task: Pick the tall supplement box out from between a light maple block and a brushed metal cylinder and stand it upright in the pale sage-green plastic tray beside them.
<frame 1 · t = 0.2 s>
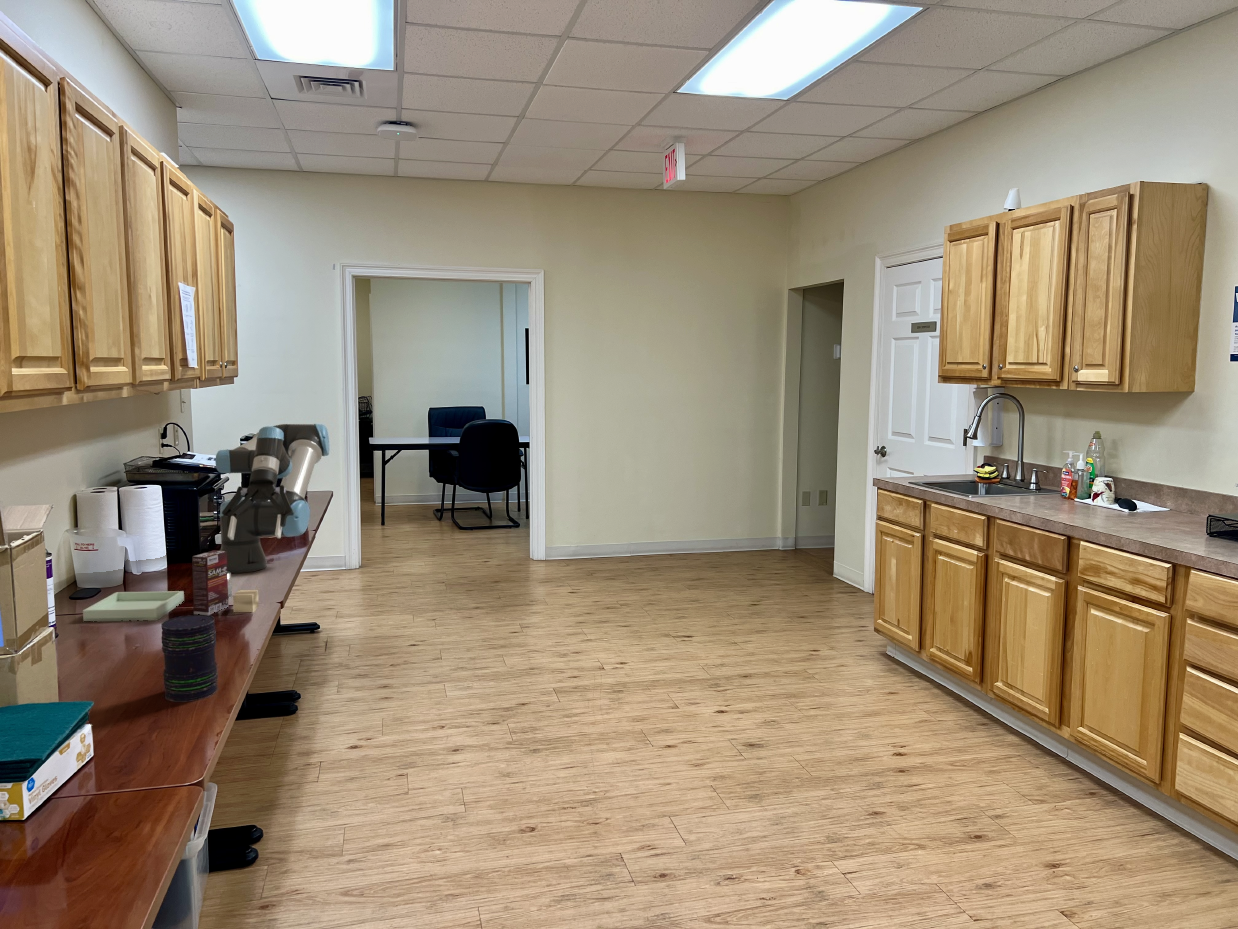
hand: (254, 537, 251), 16 cm above the table, tool tilted 35°, fingers open, 13 cm apart
supplement box: (211, 611, 231), on the table
storage jar: (191, 693, 174), on the table
metal cylinder: (222, 597, 245), on the table
maple block: (246, 610, 232), on the table
sage tray: (135, 611, 230), on the table
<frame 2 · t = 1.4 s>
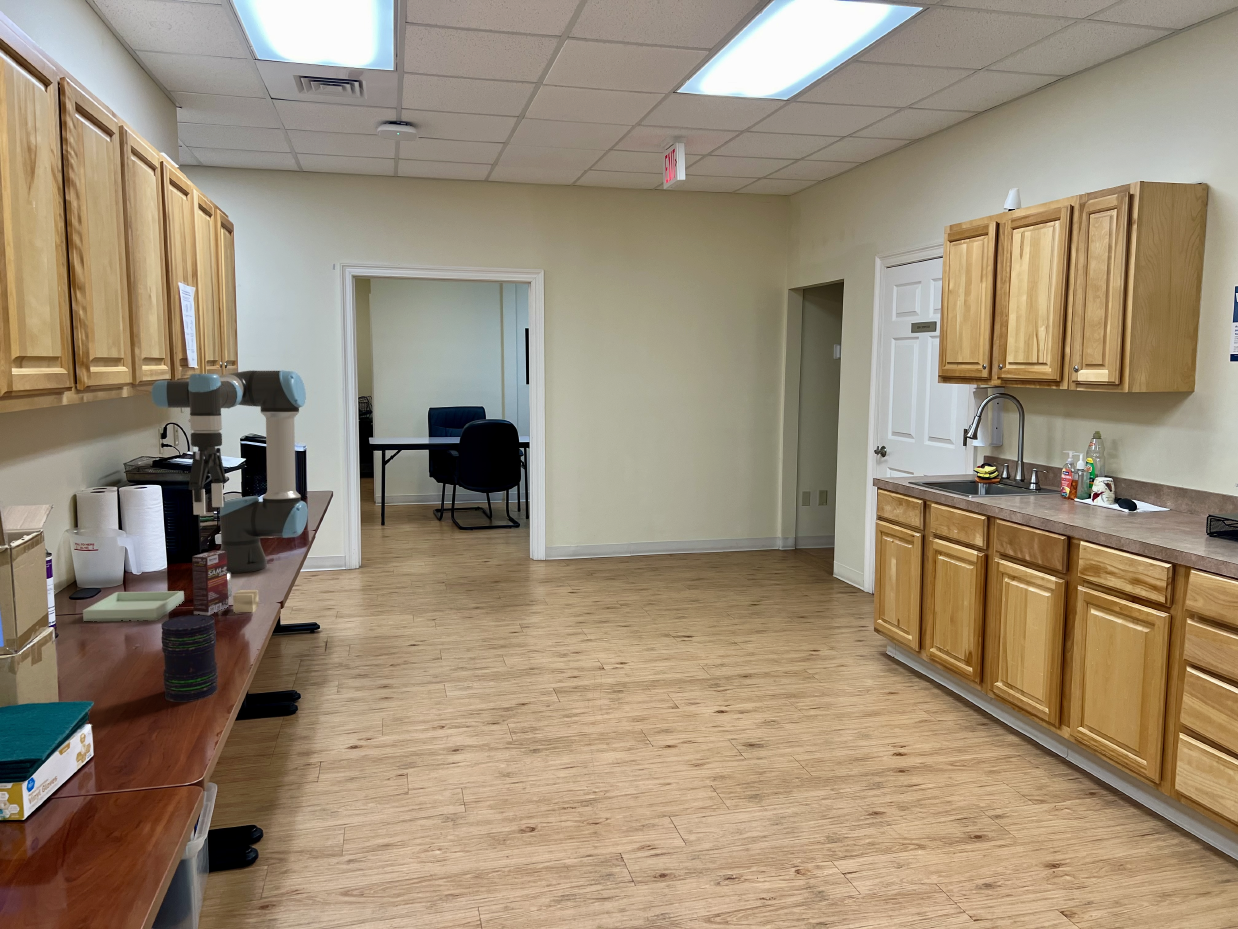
hand: (209, 510, 229), 27 cm above the table, tool pointing down, fingers open, 13 cm apart
nothing on the table moved.
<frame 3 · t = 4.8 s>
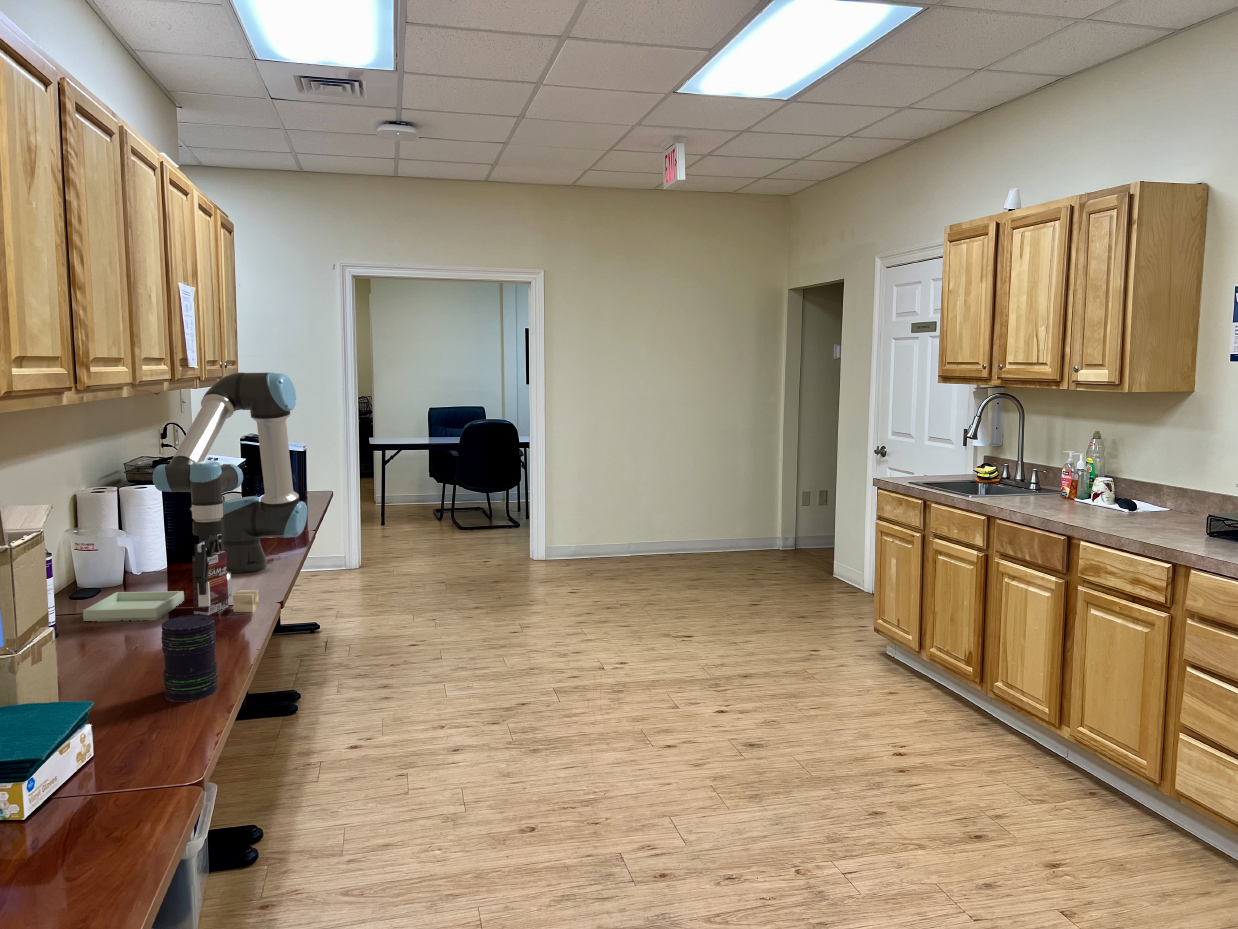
hand: (211, 600, 231), 3 cm above the table, tool pointing down, fingers closed on supplement box, 9 cm apart
supplement box: (211, 611, 231), on the table, touching gripper
everything else where it was.
when the fingers open (5 cm above the table, at t = 13.5 s): supplement box drops 2 cm, resting on sage tray.
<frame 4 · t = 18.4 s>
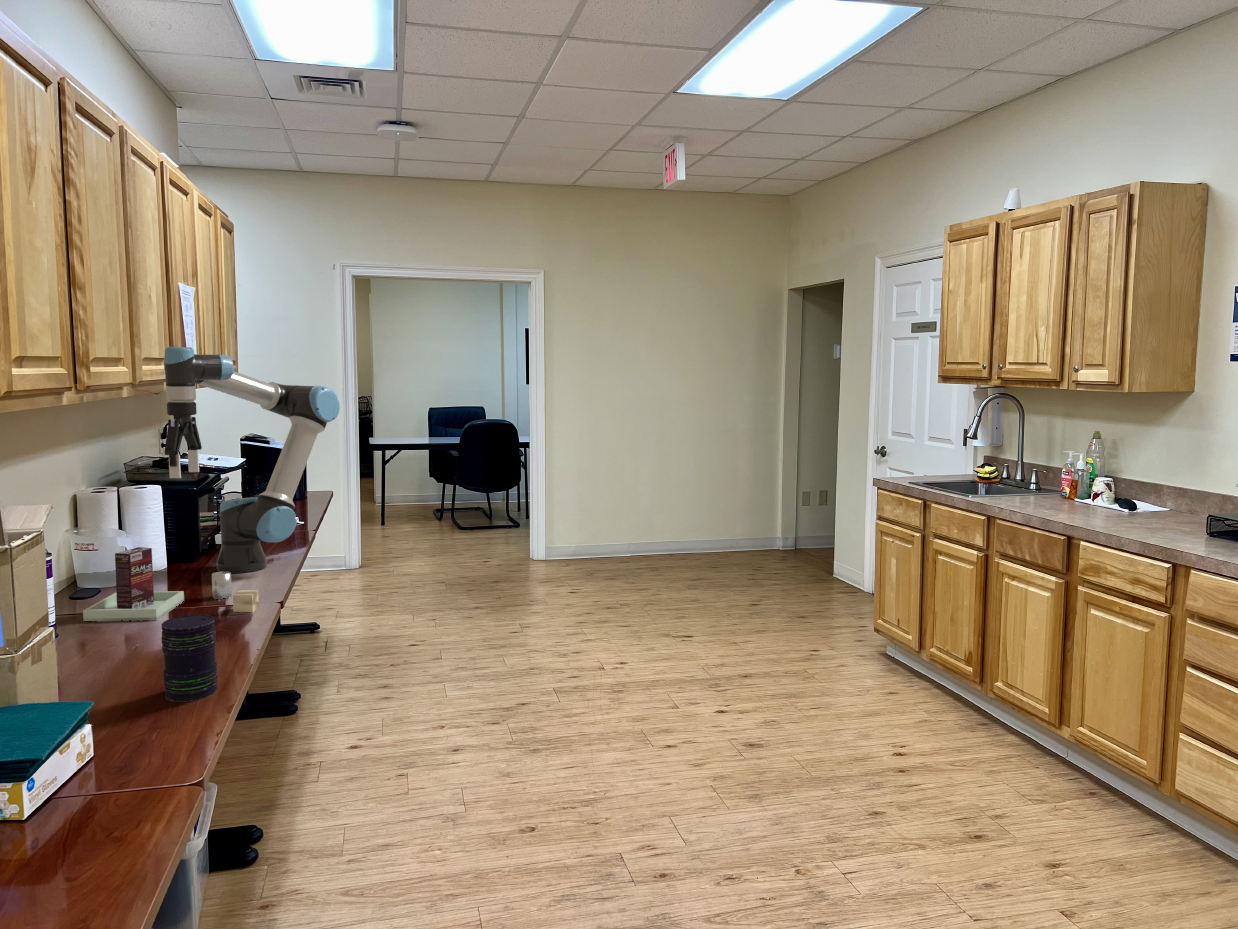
hand: (184, 475, 246), 35 cm above the table, tool pointing down, fingers open, 13 cm apart
supplement box: (136, 608, 230), point 1 cm above the table, touching sage tray
everything else where it was.
at the end: supplement box inside the target area on the sage tray (0.4 cm from its centre), point 0.6 cm above the sage tray's base; supplement box tilted 0°; the gripper is holding nothing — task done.
